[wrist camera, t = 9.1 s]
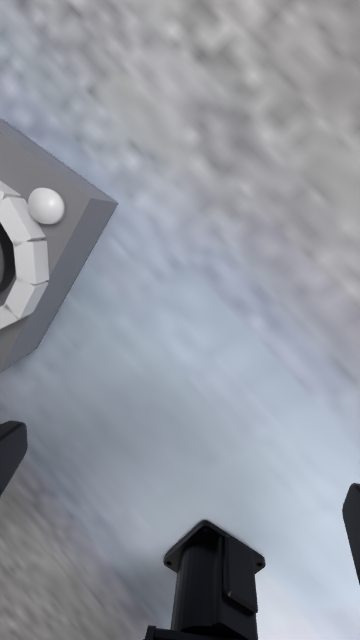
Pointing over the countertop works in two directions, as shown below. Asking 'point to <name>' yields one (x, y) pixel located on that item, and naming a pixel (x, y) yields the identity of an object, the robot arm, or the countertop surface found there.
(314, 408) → the countertop surface
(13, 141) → the camera body
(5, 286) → the lens
